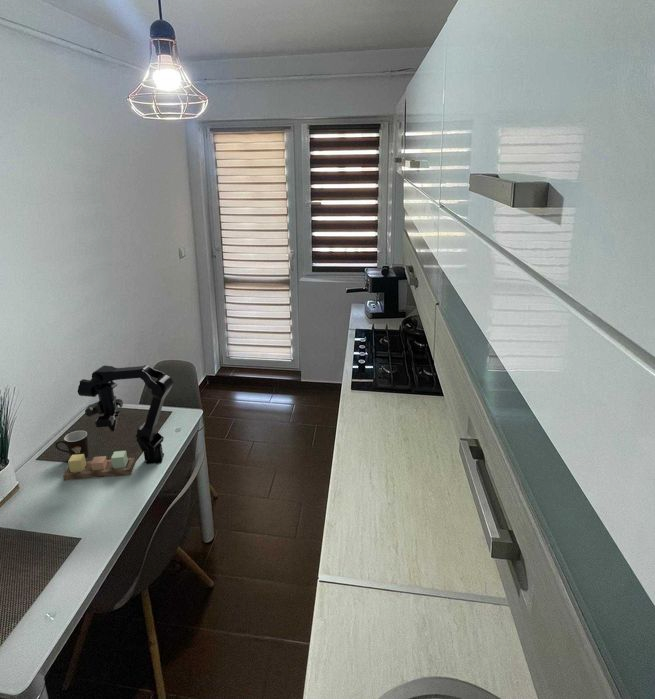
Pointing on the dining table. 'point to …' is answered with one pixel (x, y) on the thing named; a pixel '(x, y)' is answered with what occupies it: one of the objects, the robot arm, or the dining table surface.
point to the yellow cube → (77, 463)
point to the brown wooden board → (100, 471)
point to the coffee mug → (76, 443)
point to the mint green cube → (119, 459)
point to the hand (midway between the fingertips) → (113, 430)
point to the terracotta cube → (99, 463)
